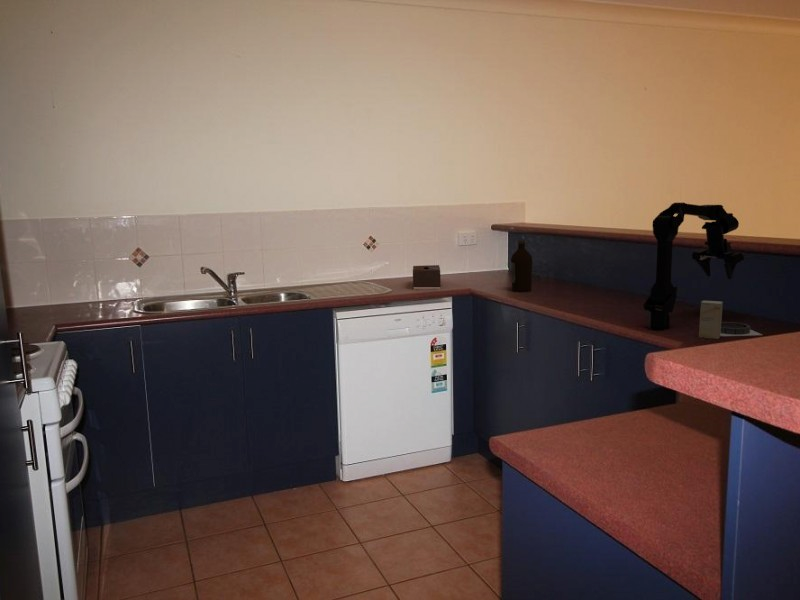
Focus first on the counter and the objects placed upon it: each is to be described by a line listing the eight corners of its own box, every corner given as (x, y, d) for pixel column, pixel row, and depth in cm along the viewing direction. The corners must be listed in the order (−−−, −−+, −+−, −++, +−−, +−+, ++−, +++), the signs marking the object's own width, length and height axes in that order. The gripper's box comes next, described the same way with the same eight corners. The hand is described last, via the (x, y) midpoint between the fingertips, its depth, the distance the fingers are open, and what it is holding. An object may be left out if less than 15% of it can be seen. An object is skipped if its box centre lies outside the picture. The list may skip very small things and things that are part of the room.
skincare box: (698, 338, 220) (699, 302, 218) (700, 335, 223) (702, 300, 221) (719, 340, 216) (720, 303, 214) (721, 337, 220) (723, 301, 218)
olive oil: (531, 288, 337) (530, 239, 333) (533, 292, 327) (533, 241, 323) (510, 289, 338) (509, 240, 334) (512, 292, 327) (511, 242, 323)
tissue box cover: (440, 289, 347) (440, 270, 346) (413, 290, 348) (412, 271, 346) (439, 282, 373) (439, 265, 371) (413, 283, 373) (413, 265, 372)
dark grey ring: (723, 335, 221) (723, 329, 221) (708, 328, 232) (709, 322, 232) (755, 334, 221) (756, 328, 221) (740, 327, 232) (740, 321, 231)
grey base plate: (720, 337, 220) (720, 336, 220) (702, 328, 234) (702, 327, 234) (763, 336, 219) (763, 334, 219) (742, 327, 233) (742, 326, 233)
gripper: (752, 233, 241) (756, 274, 245) (709, 230, 257) (713, 268, 261) (731, 241, 237) (735, 283, 241) (688, 238, 253) (693, 277, 257)
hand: (719, 277), depth 250 cm, fingers open, 9 cm apart
